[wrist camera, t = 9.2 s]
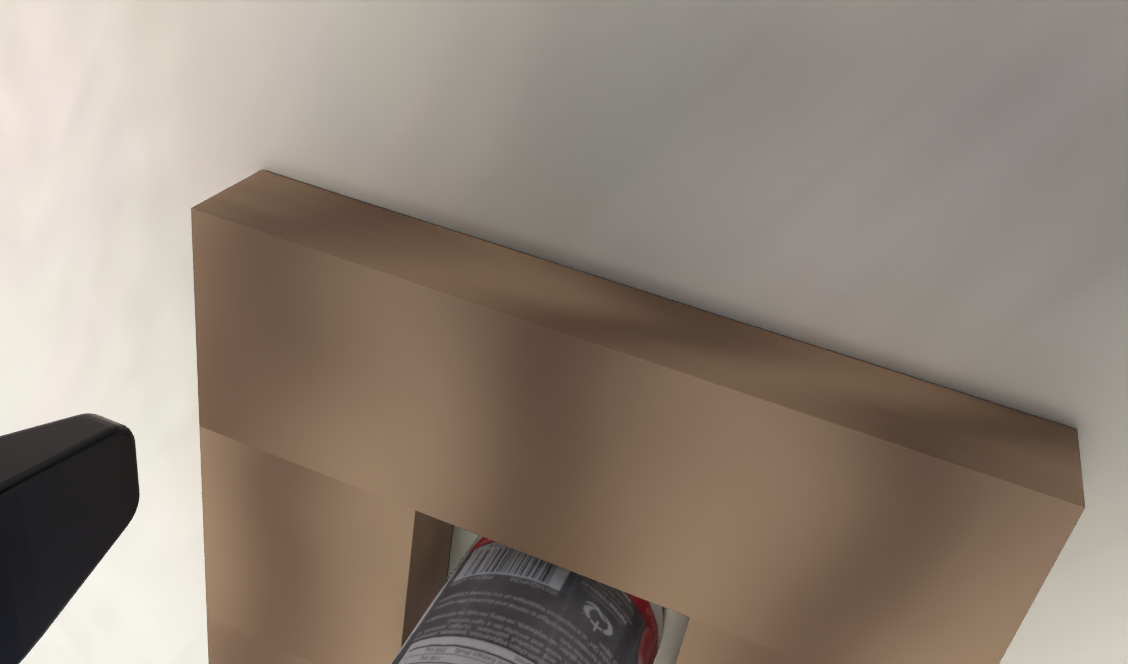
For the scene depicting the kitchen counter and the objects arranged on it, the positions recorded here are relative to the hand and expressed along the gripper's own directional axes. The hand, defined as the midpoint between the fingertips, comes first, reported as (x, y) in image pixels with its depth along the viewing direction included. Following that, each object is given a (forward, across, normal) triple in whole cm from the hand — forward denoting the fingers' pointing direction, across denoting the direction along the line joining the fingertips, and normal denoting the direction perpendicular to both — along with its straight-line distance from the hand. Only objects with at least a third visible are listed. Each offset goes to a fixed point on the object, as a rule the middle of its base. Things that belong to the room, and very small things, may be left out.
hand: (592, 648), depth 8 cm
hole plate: (+13, +3, +13) cm, 19 cm away
